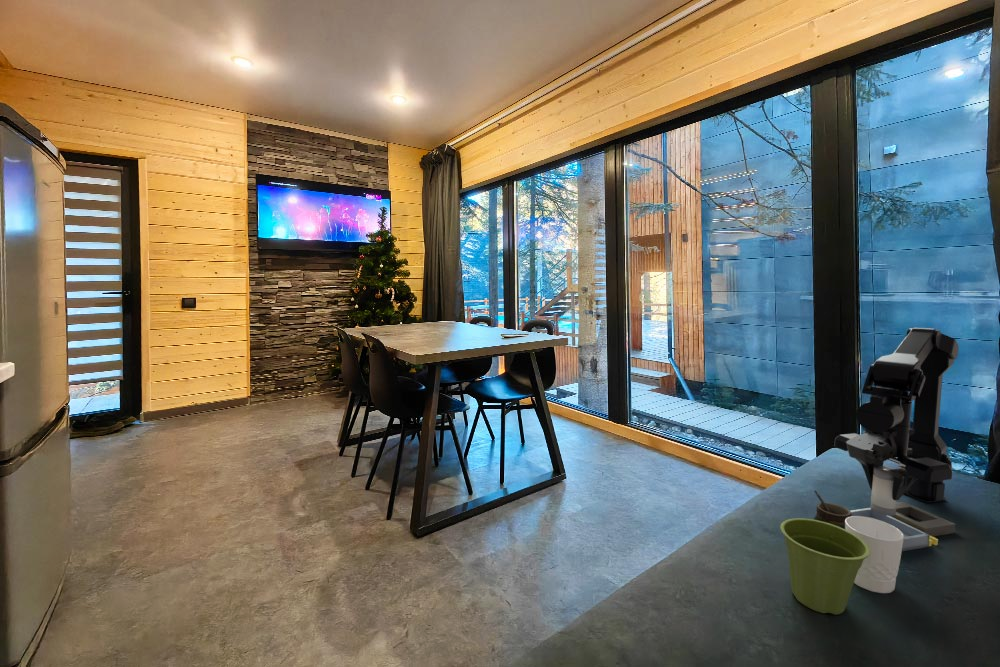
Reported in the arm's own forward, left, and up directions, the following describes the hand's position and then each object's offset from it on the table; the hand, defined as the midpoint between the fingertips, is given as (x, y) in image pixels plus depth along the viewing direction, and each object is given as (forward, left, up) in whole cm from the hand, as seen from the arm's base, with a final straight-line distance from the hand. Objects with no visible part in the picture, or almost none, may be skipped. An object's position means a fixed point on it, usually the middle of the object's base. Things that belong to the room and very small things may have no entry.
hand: (884, 494), depth 91 cm
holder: (-2, +11, -9) cm, 14 cm away
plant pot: (+13, -30, -9) cm, 34 cm away
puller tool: (+1, +6, -9) cm, 11 cm away
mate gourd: (+1, -14, -9) cm, 17 cm away
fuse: (0, 0, -4) cm, 4 cm away
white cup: (+11, -17, -9) cm, 22 cm away
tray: (0, 0, -9) cm, 9 cm away
